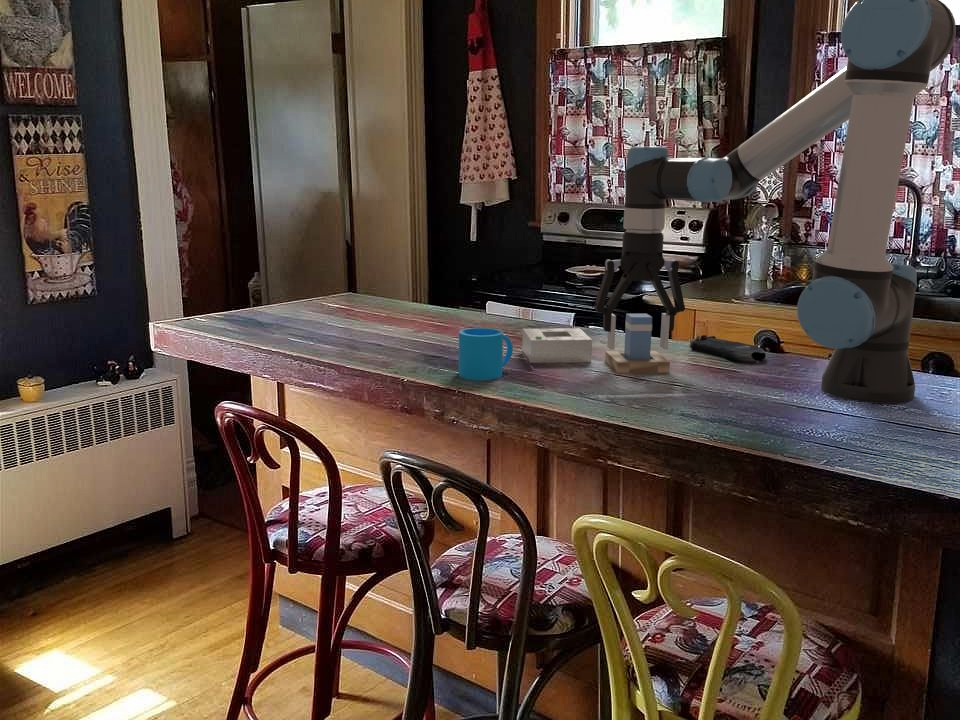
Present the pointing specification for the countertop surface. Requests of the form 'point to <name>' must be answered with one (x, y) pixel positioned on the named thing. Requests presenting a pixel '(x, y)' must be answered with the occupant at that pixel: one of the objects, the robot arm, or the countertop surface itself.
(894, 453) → the countertop surface
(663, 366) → the tan flat square frame
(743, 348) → the electronic device
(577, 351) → the port block
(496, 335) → the mug
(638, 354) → the plug
